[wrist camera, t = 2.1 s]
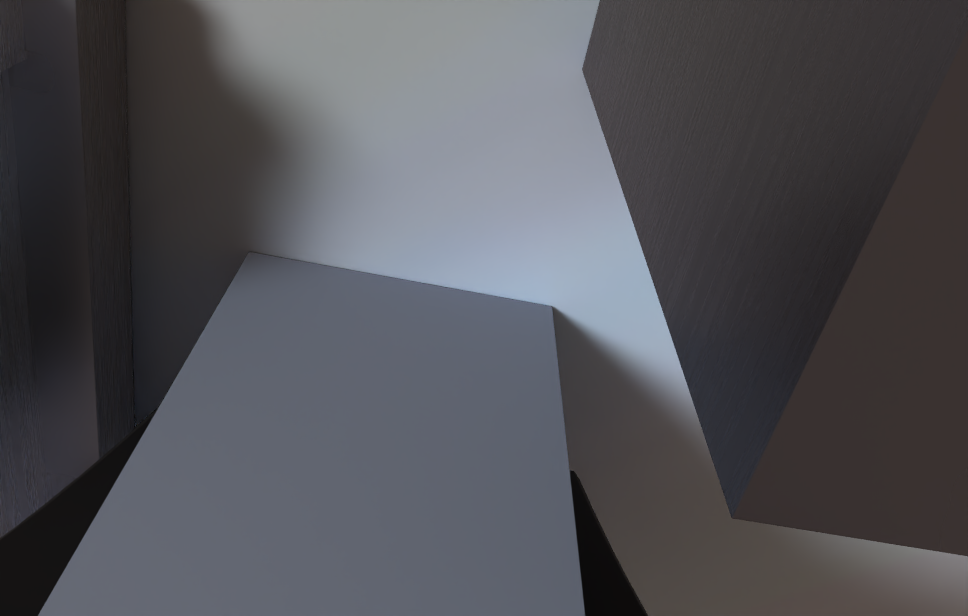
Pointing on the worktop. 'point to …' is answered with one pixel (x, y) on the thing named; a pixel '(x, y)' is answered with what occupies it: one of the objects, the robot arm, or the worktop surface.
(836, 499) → the charcoal grey cuboid
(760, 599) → the worktop surface
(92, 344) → the bin
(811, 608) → the worktop surface
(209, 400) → the pale blue block
